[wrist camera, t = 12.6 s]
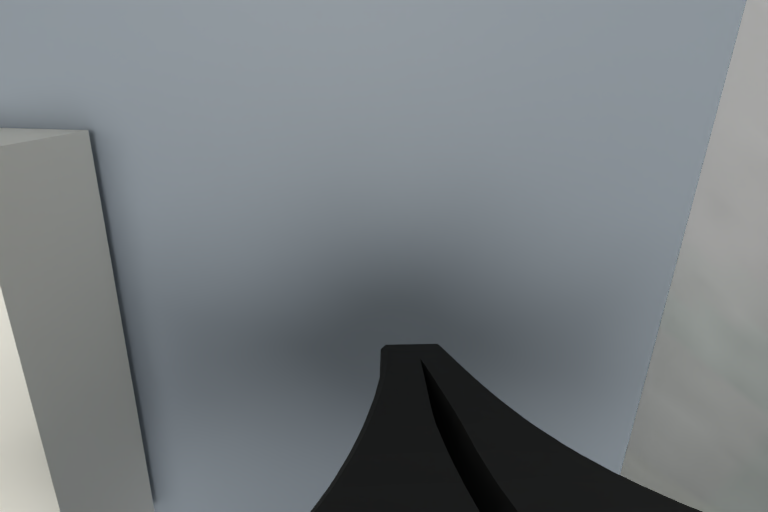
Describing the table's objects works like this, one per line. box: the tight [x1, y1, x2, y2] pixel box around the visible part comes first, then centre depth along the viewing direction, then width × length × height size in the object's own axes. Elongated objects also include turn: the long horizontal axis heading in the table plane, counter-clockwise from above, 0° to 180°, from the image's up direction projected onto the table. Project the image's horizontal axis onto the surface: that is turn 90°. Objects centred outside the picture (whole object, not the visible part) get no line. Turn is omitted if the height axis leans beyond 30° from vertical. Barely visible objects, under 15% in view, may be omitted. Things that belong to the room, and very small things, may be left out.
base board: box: [0, 0, 746, 512], centre depth 11 cm, size 16×24×4 cm, turn 88°
